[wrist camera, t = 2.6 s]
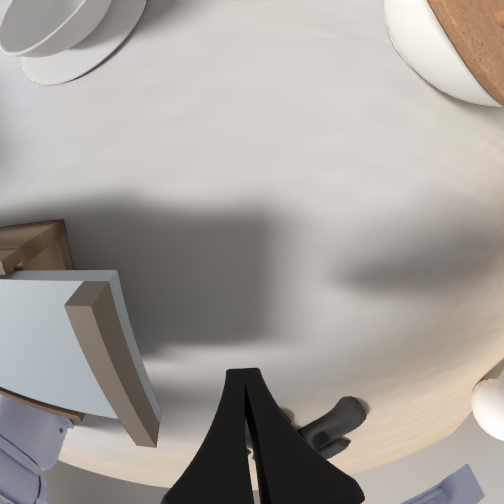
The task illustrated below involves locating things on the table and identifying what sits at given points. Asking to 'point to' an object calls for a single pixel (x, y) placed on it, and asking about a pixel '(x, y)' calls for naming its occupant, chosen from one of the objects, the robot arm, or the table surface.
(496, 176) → the table surface
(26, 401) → the walnut box
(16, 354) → the lid
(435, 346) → the table surface
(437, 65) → the lidded jar
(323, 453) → the cloth
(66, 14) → the teacup
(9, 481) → the robot arm
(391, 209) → the table surface
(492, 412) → the air blower bulb
